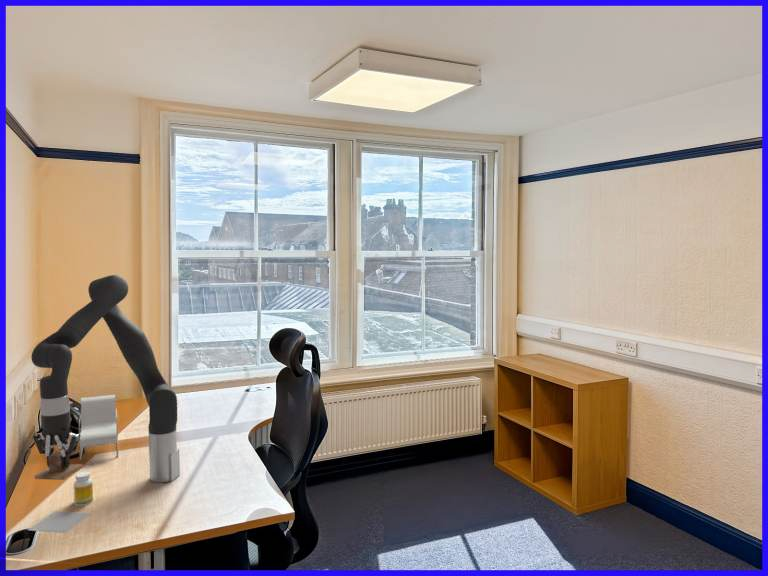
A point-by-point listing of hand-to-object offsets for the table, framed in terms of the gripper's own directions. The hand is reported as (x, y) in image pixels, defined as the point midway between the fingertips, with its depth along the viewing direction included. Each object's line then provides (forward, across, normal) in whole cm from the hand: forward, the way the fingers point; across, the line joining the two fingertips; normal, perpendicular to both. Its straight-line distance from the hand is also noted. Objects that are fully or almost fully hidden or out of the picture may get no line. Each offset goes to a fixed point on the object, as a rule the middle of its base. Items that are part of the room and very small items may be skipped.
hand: (58, 467), depth 174 cm
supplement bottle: (+18, +2, -13) cm, 22 cm away
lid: (+2, 0, 0) cm, 2 cm away
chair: (+18, +23, -58) cm, 65 cm away
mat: (+17, +1, 0) cm, 17 cm away
